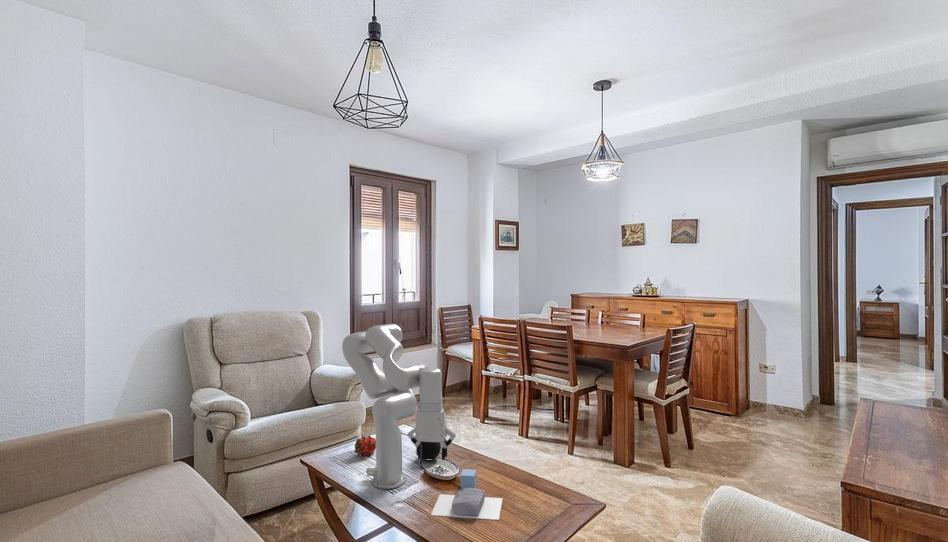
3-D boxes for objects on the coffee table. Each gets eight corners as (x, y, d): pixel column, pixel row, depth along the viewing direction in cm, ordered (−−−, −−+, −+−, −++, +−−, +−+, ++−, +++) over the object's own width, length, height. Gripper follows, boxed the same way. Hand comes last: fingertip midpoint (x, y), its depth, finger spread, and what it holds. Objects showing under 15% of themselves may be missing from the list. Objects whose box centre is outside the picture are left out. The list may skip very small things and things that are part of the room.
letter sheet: (430, 515, 145) (430, 514, 145) (439, 494, 157) (439, 494, 157) (498, 520, 141) (498, 519, 141) (502, 498, 154) (502, 498, 154)
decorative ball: (442, 463, 182) (441, 439, 182) (417, 465, 181) (416, 441, 180) (440, 453, 192) (439, 430, 192) (416, 455, 190) (416, 431, 190)
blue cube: (460, 489, 161) (460, 475, 161) (463, 482, 166) (462, 469, 166) (474, 490, 161) (474, 476, 161) (476, 483, 166) (476, 469, 166)
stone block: (451, 519, 144) (480, 516, 142) (448, 504, 145) (477, 501, 143) (459, 501, 156) (487, 498, 154) (457, 488, 156) (484, 484, 154)
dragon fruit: (353, 463, 187) (373, 457, 197) (366, 454, 184) (386, 448, 194) (346, 444, 190) (366, 438, 201) (359, 435, 187) (379, 430, 198)
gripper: (402, 408, 148) (403, 461, 149) (454, 410, 146) (455, 464, 146) (409, 401, 156) (410, 452, 156) (458, 403, 153) (459, 454, 153)
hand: (431, 457), depth 151 cm, fingers open, 7 cm apart
